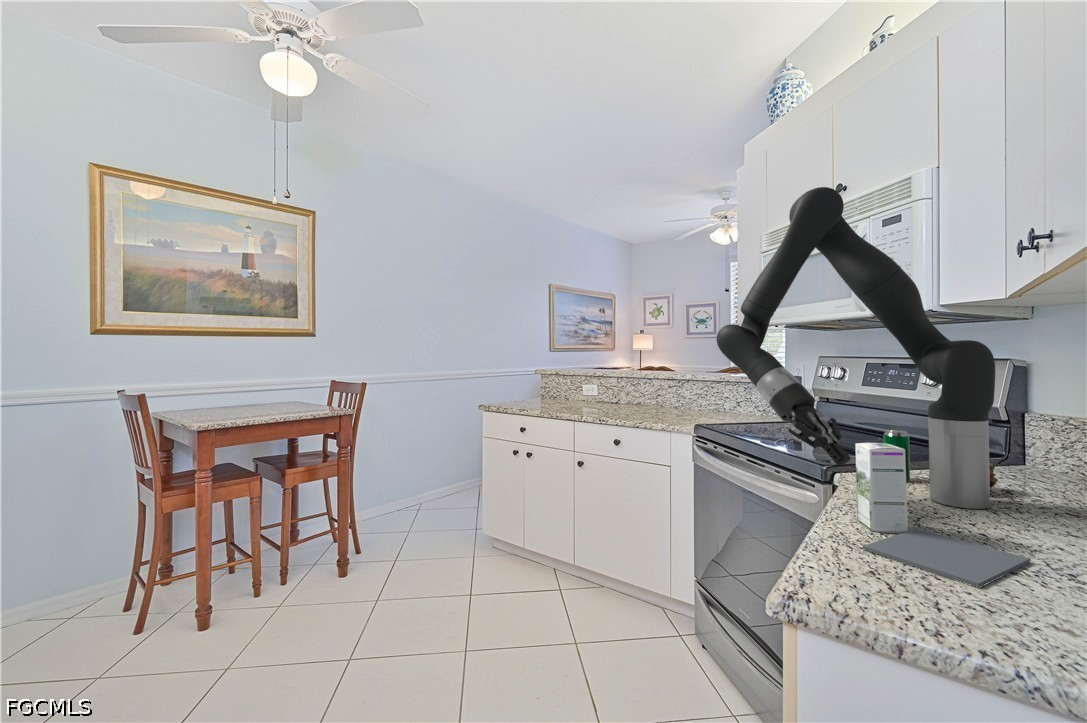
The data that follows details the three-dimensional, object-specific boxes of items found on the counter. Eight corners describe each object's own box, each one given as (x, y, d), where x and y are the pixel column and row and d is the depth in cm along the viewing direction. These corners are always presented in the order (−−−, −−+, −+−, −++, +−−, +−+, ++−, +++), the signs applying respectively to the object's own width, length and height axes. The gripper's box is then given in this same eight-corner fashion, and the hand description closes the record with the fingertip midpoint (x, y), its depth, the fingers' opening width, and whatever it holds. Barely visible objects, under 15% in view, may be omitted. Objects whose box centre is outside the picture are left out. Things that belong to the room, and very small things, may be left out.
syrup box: (909, 534, 78) (908, 448, 79) (870, 531, 80) (869, 447, 80) (891, 522, 84) (890, 442, 84) (855, 520, 85) (854, 441, 85)
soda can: (915, 482, 111) (914, 432, 111) (894, 482, 111) (893, 432, 111) (899, 477, 116) (898, 429, 116) (879, 477, 116) (878, 429, 116)
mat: (916, 531, 79) (916, 528, 79) (1030, 562, 67) (1030, 558, 67) (862, 549, 72) (862, 545, 72) (978, 588, 60) (978, 583, 60)
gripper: (774, 382, 93) (838, 454, 82) (816, 380, 99) (880, 447, 88) (752, 407, 97) (809, 477, 86) (793, 403, 103) (851, 469, 92)
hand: (845, 462), depth 87 cm, fingers closed
